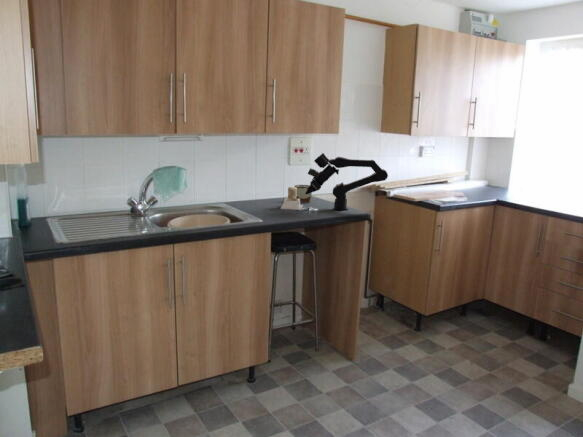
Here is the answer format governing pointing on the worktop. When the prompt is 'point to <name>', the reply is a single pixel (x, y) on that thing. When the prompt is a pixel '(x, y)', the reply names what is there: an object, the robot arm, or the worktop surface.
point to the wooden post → (292, 193)
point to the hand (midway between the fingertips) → (306, 192)
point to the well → (292, 205)
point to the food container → (303, 193)
